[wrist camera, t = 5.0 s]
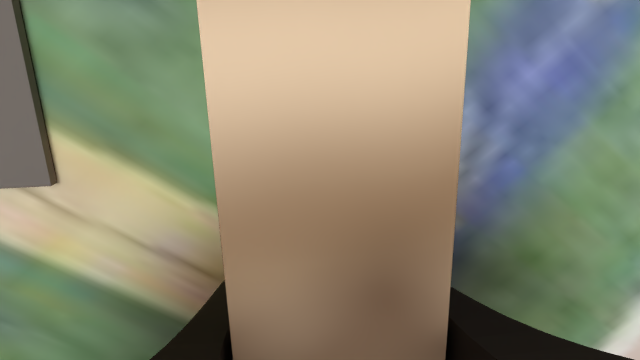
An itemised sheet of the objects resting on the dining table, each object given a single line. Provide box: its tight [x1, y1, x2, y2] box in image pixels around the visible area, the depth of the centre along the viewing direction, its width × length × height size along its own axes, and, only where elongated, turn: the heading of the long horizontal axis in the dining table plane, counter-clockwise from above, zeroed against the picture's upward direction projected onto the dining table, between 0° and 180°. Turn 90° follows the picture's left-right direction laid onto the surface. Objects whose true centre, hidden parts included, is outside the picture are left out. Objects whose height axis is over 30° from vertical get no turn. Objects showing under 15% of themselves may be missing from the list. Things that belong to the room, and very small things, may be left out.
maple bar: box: [197, 0, 471, 360], centre depth 9 cm, size 12×4×5 cm, turn 2°
